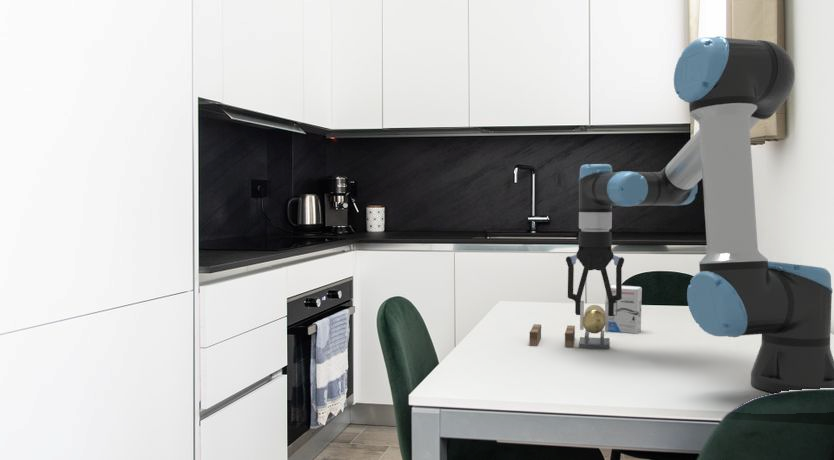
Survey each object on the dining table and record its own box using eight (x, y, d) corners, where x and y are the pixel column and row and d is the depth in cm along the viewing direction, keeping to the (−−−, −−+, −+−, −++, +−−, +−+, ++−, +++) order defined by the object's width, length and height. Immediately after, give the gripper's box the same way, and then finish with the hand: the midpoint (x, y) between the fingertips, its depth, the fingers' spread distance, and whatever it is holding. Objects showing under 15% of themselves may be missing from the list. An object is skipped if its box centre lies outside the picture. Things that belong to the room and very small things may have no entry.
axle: (604, 334, 191) (605, 312, 191) (582, 332, 193) (583, 311, 192) (605, 325, 203) (605, 305, 203) (584, 324, 204) (584, 304, 204)
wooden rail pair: (572, 347, 195) (572, 333, 195) (529, 345, 197) (529, 332, 197) (574, 338, 207) (574, 325, 207) (533, 336, 209) (533, 324, 209)
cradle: (609, 349, 193) (609, 337, 193) (578, 347, 194) (578, 336, 194) (609, 342, 201) (609, 330, 201) (580, 341, 203) (580, 329, 203)
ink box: (604, 331, 218) (604, 286, 217) (609, 328, 222) (609, 284, 221) (637, 333, 214) (637, 288, 213) (641, 331, 218) (642, 286, 217)
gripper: (634, 230, 195) (633, 328, 196) (557, 229, 199) (556, 325, 201) (635, 231, 188) (634, 333, 189) (555, 230, 192) (554, 330, 193)
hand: (594, 329), depth 195 cm, fingers closed on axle, 5 cm apart
